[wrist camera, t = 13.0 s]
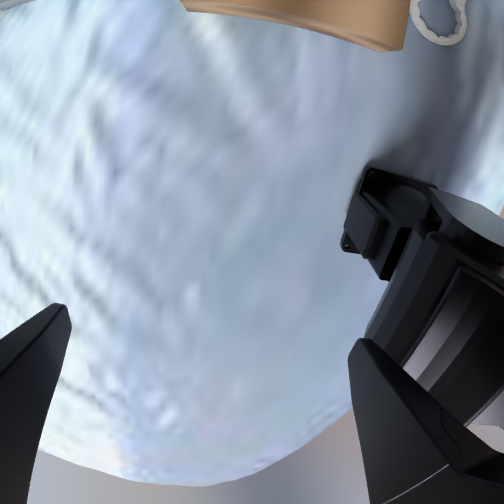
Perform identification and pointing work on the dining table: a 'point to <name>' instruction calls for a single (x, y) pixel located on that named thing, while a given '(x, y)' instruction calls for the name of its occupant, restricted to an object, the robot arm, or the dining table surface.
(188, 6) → the pin block
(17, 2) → the tray
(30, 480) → the robot arm
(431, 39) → the wrench
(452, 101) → the dining table surface
